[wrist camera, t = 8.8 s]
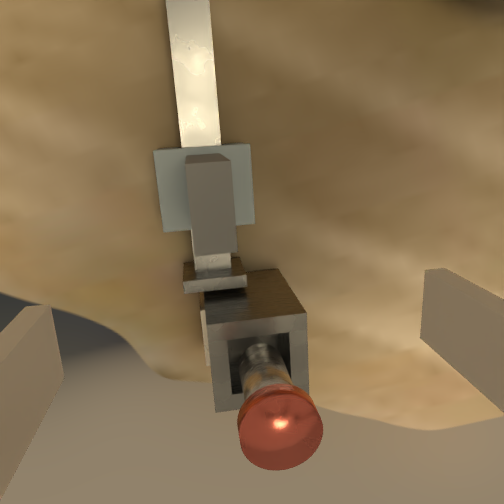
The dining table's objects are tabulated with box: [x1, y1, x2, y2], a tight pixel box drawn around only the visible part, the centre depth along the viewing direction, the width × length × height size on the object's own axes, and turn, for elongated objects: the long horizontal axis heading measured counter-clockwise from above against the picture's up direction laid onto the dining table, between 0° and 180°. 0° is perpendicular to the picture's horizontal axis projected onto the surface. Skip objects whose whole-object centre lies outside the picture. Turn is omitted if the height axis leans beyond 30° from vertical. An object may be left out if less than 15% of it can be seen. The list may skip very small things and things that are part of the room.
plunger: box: [237, 343, 323, 470], centre depth 26 cm, size 5×5×7 cm
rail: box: [166, 0, 247, 294], centre depth 32 cm, size 5×27×5 cm, turn 4°
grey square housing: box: [199, 269, 309, 412], centre depth 34 cm, size 7×7×10 cm
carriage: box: [153, 143, 255, 257], centre depth 29 cm, size 7×6×14 cm
